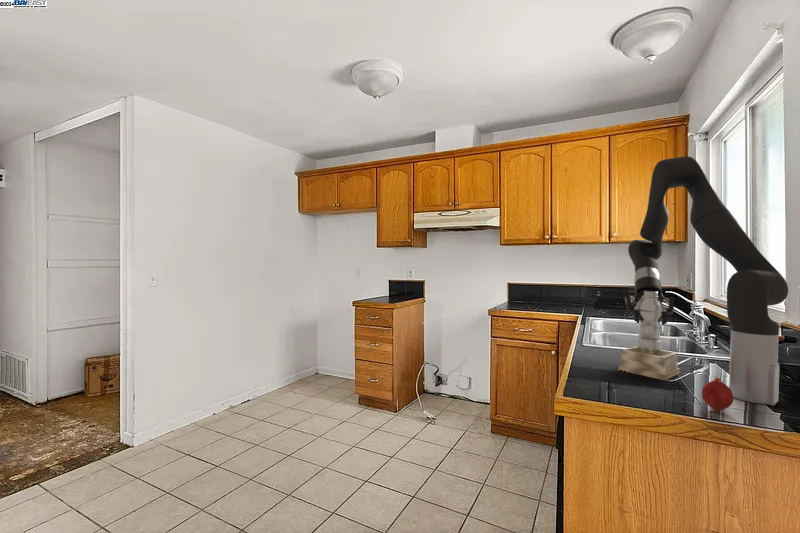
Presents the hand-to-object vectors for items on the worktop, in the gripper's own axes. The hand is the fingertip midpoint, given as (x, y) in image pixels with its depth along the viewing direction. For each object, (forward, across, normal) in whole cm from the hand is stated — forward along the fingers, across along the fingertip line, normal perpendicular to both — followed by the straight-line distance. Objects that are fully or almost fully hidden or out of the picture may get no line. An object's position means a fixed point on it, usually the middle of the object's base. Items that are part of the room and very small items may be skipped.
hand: (650, 322), depth 125 cm
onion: (+33, +10, -11) cm, 36 cm away
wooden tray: (+10, 0, +12) cm, 16 cm away
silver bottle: (+6, 0, +9) cm, 11 cm away
